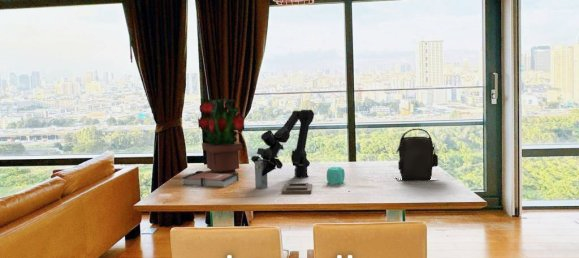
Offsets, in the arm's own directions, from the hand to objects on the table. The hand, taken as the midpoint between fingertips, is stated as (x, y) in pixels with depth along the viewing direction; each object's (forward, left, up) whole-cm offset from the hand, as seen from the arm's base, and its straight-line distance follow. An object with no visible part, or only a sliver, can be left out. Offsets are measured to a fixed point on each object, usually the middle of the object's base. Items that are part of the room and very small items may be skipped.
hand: (259, 175), depth 249 cm
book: (+21, -25, -8) cm, 34 cm away
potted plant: (+8, -55, -7) cm, 56 cm away
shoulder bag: (-84, +19, -7) cm, 87 cm away
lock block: (-1, -1, -7) cm, 7 cm away
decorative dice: (-41, +6, -7) cm, 42 cm away
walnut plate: (-16, +13, -7) cm, 22 cm away
